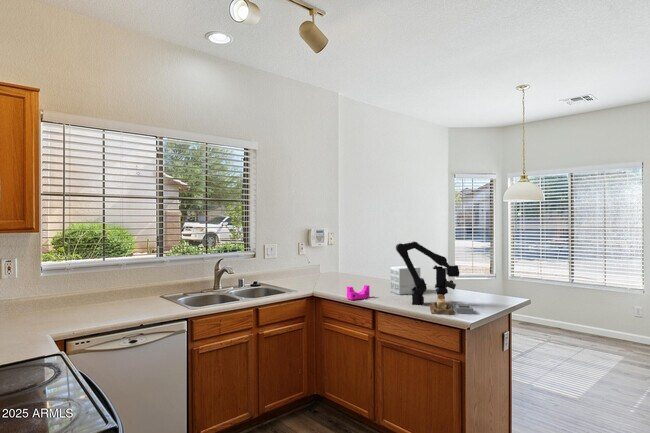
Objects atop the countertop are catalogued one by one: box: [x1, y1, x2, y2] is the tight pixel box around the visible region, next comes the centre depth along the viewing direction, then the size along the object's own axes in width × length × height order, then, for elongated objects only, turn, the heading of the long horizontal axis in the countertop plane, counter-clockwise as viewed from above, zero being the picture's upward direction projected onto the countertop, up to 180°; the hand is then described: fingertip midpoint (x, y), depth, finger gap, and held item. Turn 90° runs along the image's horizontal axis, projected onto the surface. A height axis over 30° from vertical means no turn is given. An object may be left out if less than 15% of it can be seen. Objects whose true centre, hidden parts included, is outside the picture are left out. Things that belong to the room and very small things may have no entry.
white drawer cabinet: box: [389, 265, 421, 296], centre depth 275 cm, size 17×13×18 cm
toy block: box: [346, 284, 370, 301], centre depth 256 cm, size 15×6×8 cm, turn 114°
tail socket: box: [454, 304, 474, 315], centre depth 216 cm, size 8×8×3 cm
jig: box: [429, 301, 455, 316], centre depth 220 cm, size 12×20×2 cm, turn 167°
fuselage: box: [436, 294, 447, 310], centre depth 220 cm, size 4×12×7 cm, turn 167°
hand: (441, 302), depth 236 cm, fingers closed on tail block, 4 cm apart
